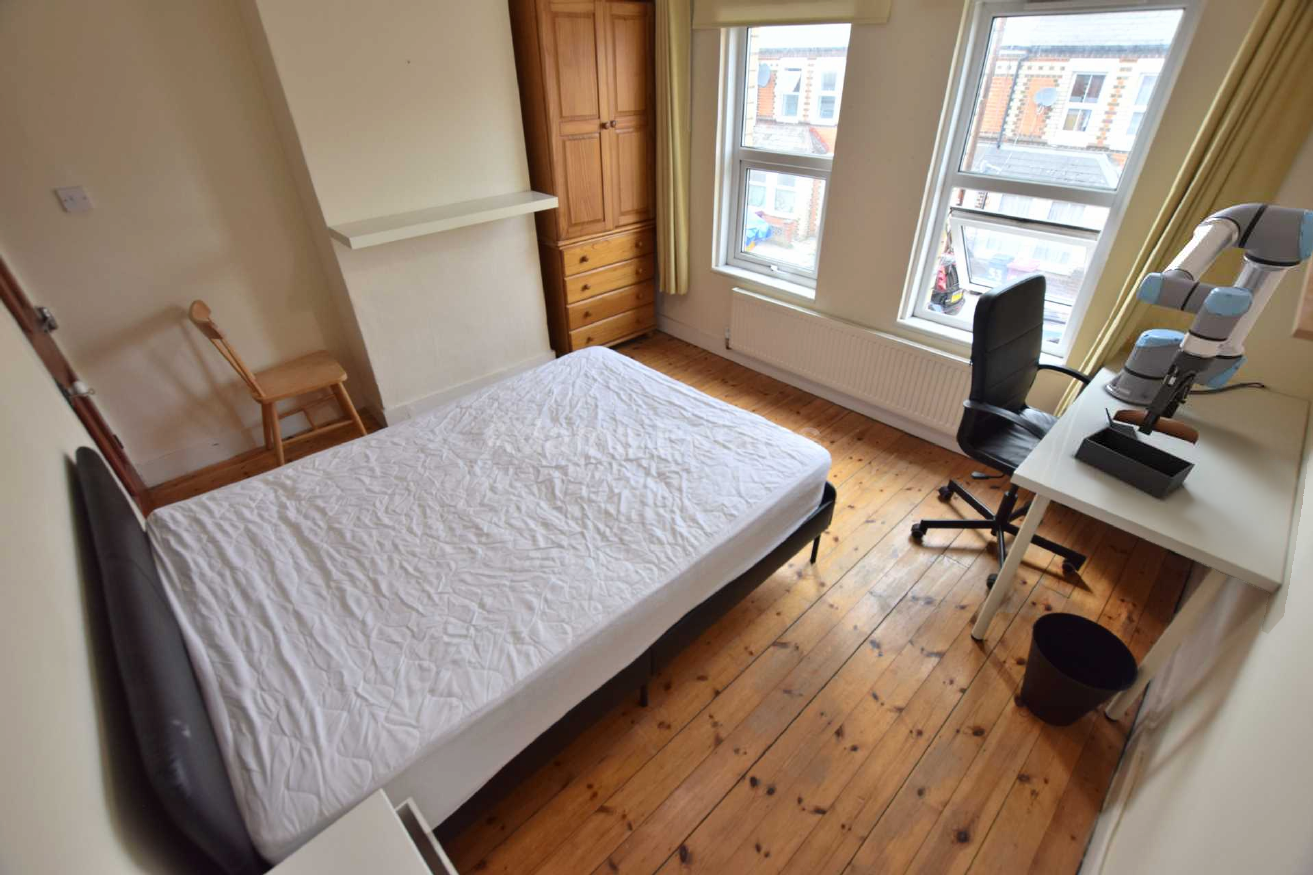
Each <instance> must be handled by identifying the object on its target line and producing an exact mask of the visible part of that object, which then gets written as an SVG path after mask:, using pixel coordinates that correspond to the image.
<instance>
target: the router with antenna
mask: <svg viewBox="0 0 1313 875" xmlns="http://www.w3.org/2000/svg"><path fill="white" fill-rule="evenodd" d="M1104 409H1105V412H1106V416H1107V419H1108V423H1109V427H1110V428H1112V429H1115V430H1117V431H1119V432H1122V433H1124V434H1126V435H1128V436H1131V437H1133V438H1135V439H1138V437H1137V434H1136V431H1135V428H1134V425H1129V424H1124V423H1119V422H1114V420H1112V416H1111V414H1110V412H1109V410H1108V407H1105V408H1104Z"/></svg>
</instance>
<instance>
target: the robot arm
mask: <svg viewBox="0 0 1313 875" xmlns="http://www.w3.org/2000/svg"><path fill="white" fill-rule="evenodd" d="M1230 247H1233V248H1238V249H1244V250H1245V253H1244V255H1243V258H1244V259H1245V261H1246V264H1245V266H1244V267H1243V269H1242V270H1241V273H1240V275H1239V276H1238V278H1237V280H1236V282H1235V283H1234V285H1233V286H1228V287H1226V286H1220V285H1219V286H1218V285H1214V284H1209V283H1204V282H1201V281H1199V280H1200V279H1201V277H1202V276H1203V275H1204V274H1205V272H1206V271H1208V269H1209V267H1211V265H1212V264H1213V263H1214V262H1215V261H1216V259H1217V258H1218V257H1219V255H1220V254H1221V253H1222V252H1223V251H1224V250H1226V249H1228V248H1230ZM1312 252H1313V210H1310V209H1309V208H1307V209H1305V208H1298V207H1297V208H1296V207H1289V206H1280V205H1279V206H1278V205H1271V204H1264V203H1257V202H1253V203H1251V202H1250V203H1242V204H1238V205H1234V206H1230V207H1227V208H1224V209H1222V210H1219V211H1218V212H1215V213H1213V214H1211V215H1209V216H1208V217H1206V218H1204V220H1203V221H1201V222H1200V223H1199V224H1198V226H1197V227H1196V228H1195V229H1194V231H1193V233H1192V239H1191V240H1190V241H1189V242H1188V243H1187V244H1186V245H1185V246H1184V248H1183V249H1182V250H1181V251H1180V252H1179V253H1178V254H1177V255H1176V257H1175V258H1174V259H1173V260H1172V261H1171V263H1169V265H1168V266H1167V267H1166V268H1165V270H1164V271H1163V272H1162V273H1161V272H1159V273H1157V272H1150V273H1148V274H1147V275H1146V276H1145V277H1144V279H1143V281H1142V282H1141V284H1140V285H1139V287H1138V289H1137V292H1136V299H1137V300H1138V301H1140V302H1144V303H1148V304H1150V305H1155V306H1159V307H1162V308H1163V307H1164V308H1168V309H1172V310H1177V311H1180V312H1184V313H1189V314H1192V315H1196V316H1195V318H1194V319H1193V322H1192V324H1191V326H1190V327H1189V329H1188V330H1187V332H1186V333H1184V332H1183V333H1182V332H1181V331H1177V330H1174V329H1173V330H1172V329H1165V328H1163V329H1162V328H1161V329H1160V328H1156V329H1148V330H1145V331H1144V332H1142V333H1141V334H1140V335H1139V337H1138V339H1137V341H1136V342H1135V343H1134V347H1133V348H1132V351H1131V352H1130V355H1129V356H1128V358H1127V359H1126V362H1125V363H1124V366H1123V368H1122V369H1121V370H1120V371H1119V372H1118V373H1117V374H1115V376H1114V377H1112V378H1111V380H1109V382H1108V383H1107V385H1106V386H1105V389H1106V390H1105V391H1106V392H1108V393H1109V394H1110V395H1111V396H1112V397H1115V399H1119V400H1120V401H1123V402H1126V403H1130V404H1134V405H1139V406H1146V407H1145V410H1146V412H1148V413H1147V415H1146V417H1145V418H1144V420H1143V422H1142V424H1141V425H1140V427H1139V426H1138V429H1137V432H1138V433H1141V434H1142V435H1143V434H1144V435H1146V436H1149V437H1150V436H1151V434H1152V433H1153V432H1154V431H1153V429H1154V427H1155V426H1156V424H1157V422H1158V421H1159V419H1160V417H1161V416H1162V417H1164V418H1168V419H1172V418H1173V417H1174V415H1175V414H1176V412H1177V410H1178V409H1179V407H1180V406H1181V405H1185V404H1186V403H1187V400H1186V399H1187V398H1188V396H1189V394H1190V393H1211V392H1213V393H1214V392H1218V391H1224V390H1228V389H1231V388H1236V387H1240V386H1249V385H1250V386H1251V385H1252V386H1253V385H1257V386H1258V385H1259V386H1260V387H1262V388H1265V384H1263V383H1262V382H1259V383H1258V381H1257V382H1254V381H1253V382H1242V383H1236V384H1232V385H1228V386H1225V385H1226V384H1227V383H1228V382H1229V381H1230V379H1232V377H1233V376H1234V375H1235V374H1236V373H1237V372H1238V370H1239V369H1240V368H1241V367H1242V366H1243V364H1244V363H1245V362H1246V360H1247V359H1248V358H1247V356H1245V355H1244V353H1245V348H1244V346H1243V342H1244V341H1245V339H1246V338H1247V337H1248V334H1249V332H1250V331H1251V330H1252V328H1253V326H1254V324H1255V323H1256V321H1257V320H1258V318H1259V317H1260V315H1261V313H1262V312H1263V310H1264V308H1265V307H1266V306H1267V303H1268V302H1269V301H1270V299H1271V297H1272V295H1273V294H1274V292H1275V291H1276V289H1277V288H1278V286H1279V284H1280V283H1281V281H1282V279H1283V278H1284V277H1285V275H1286V273H1287V272H1288V270H1290V269H1293V268H1296V267H1298V266H1299V265H1300V264H1301V263H1302V261H1309V260H1310V259H1309V258H1310V256H1311V253H1312ZM1261 383H1262V384H1263V385H1261ZM1194 384H1196V385H1199V386H1201V387H1206V388H1210V389H1200V390H1199V389H1197V390H1196V389H1195V390H1194V389H1192V388H1193V386H1194Z"/></svg>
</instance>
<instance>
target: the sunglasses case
mask: <svg viewBox="0 0 1313 875" xmlns="http://www.w3.org/2000/svg"><path fill="white" fill-rule="evenodd" d="M1147 413H1148V411H1145V410H1140V409H1139V410H1138V409H1125V408H1124V409H1118V410H1116V412H1115V413H1114V415H1113V417H1111V419H1112V421H1116V422H1118V423H1119V422H1120V423H1121V424H1126V425H1130V426H1136V427H1138V428H1139V427H1140V425H1141V424H1142V422H1143V420H1144V418H1145V417H1146V415H1147ZM1152 432H1155V433H1160V434H1163V435H1165V436H1168V437H1172V438H1176V439H1178V440H1182V441H1185V442H1187V443H1190V444H1192V446H1195V445H1196V443H1197V441H1198V440H1199V432H1198V431H1197V430H1196V429H1195V428H1193V427H1191V426H1189V424H1188V425H1187V424H1186V423H1184V422H1182V421H1179V420H1175V419H1172V418H1171V419H1168V418H1164V417H1162V416H1161V417H1160V419H1159V421H1158V422H1157V424H1156V426H1155V427H1154V429H1153V431H1152Z"/></svg>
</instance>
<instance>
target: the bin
mask: <svg viewBox="0 0 1313 875" xmlns="http://www.w3.org/2000/svg"><path fill="white" fill-rule="evenodd" d="M1074 458H1075V459H1078V460H1079V461H1081V462H1083V463H1085V464H1088V465H1090V466H1092V467H1094V468H1096V469H1098V470H1100V471H1102V472H1104V473H1106V474H1108V475H1110V476H1112V477H1114V478H1116V479H1119V480H1120V481H1122V482H1124V483H1126V484H1128V485H1131V486H1132V487H1135V488H1137V489H1139V490H1141V491H1143V492H1145V493H1147V494H1150V495H1151V496H1153V497H1155V498H1157V499H1159V500H1161V499H1162V498H1164V497H1166V495H1169V493H1171V492H1172V491H1174V490H1175V489H1177V488H1179V487H1180V486H1181V485H1183V484H1184V482H1185V480H1186V479H1187V477H1188V476H1189V474H1190V473H1191V471H1192V470H1193V469H1194V467H1195V463H1193V462H1190V461H1188V460H1186V459H1184V458H1181V457H1179V456H1176V455H1174V454H1172V453H1170V452H1168V451H1166V450H1163V449H1160V448H1159V447H1156V446H1153V445H1151V444H1149V443H1147V442H1144V441H1142V440H1139V439H1138V438H1137V439H1135V438H1133V437H1131V436H1128V435H1126V434H1124V433H1122V432H1119V431H1117V430H1115V429H1112V428H1111V426H1107V425H1106V426H1105V427H1103V428H1101V429H1099V430H1097V431H1095V432H1093V433H1091V434H1089V435H1087V436H1085V437H1084V438H1083V439H1082V441H1081V443H1080V446H1079V447H1078V449H1077V451H1076V453H1075V455H1074Z"/></svg>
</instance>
